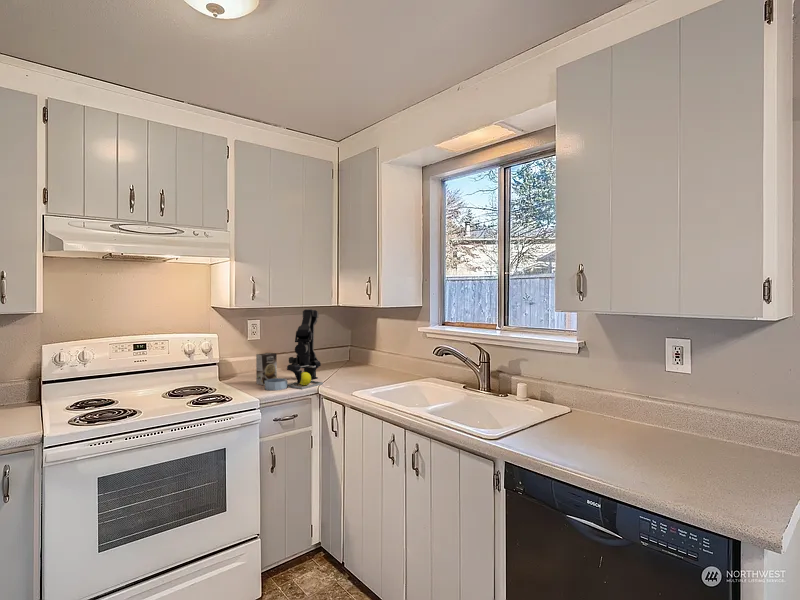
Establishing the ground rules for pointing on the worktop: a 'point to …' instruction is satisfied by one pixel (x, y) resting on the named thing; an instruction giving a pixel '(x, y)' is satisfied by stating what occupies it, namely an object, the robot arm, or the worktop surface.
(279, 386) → the bowl
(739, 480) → the worktop surface
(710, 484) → the worktop surface
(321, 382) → the grey square frame
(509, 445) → the worktop surface
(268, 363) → the coffee box
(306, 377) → the tennis ball
